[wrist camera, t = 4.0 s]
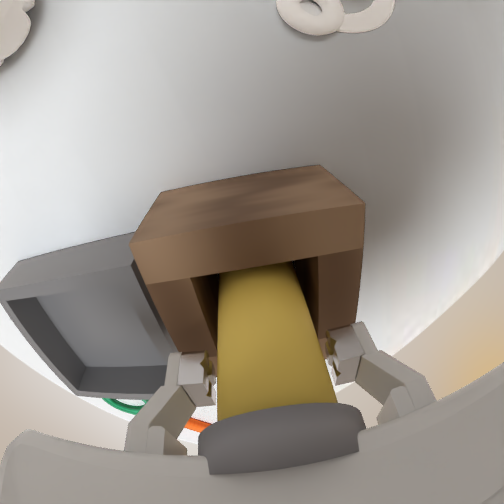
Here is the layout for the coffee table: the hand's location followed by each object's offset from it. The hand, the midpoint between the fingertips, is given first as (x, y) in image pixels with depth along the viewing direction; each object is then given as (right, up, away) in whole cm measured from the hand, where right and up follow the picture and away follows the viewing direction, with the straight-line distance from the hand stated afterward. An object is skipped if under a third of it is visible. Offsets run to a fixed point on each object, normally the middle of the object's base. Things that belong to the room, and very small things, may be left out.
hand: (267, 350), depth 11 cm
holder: (-1, +4, +7) cm, 8 cm away
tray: (-12, -1, +9) cm, 15 cm away
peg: (-1, +4, +7) cm, 8 cm away
